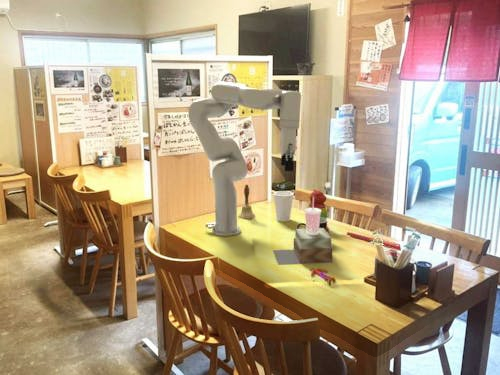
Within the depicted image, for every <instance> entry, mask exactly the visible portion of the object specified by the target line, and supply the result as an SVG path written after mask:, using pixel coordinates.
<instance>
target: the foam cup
mask: <svg viewBox="0 0 500 375" xmlns="http://www.w3.org/2000/svg"><path fill="white" fill-rule="evenodd" d="M273 199H274V207H275V209H274V210H275V216H276V218H275V219H276V221H278V222H284V223H285V222H289V221H290V219H291V214H292V207H293V201H294V192H291V191H288V190H287V191H286V190H278V191H275V192H273Z"/></svg>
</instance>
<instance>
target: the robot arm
mask: <svg viewBox="0 0 500 375" xmlns="http://www.w3.org/2000/svg"><path fill="white" fill-rule="evenodd" d="M210 94H211V96H212V97H208V98H207V97H205V98H198V99H196V100H194V101H192V103H190V105H189V108H188V114H187V115H188V120H189V122H190V125H191V127H192V128H193V129H194V131H195V133H196V135H197V137H198V139H199V142H200V145H201V146H202V148H203V151H204V152H205V155H206V157H207V159H209V161H212V162H218V161H221V162H218V163H217V164H215V165H214V167H213V169H212V170H211V171H212V172H211V177H212V182H213V185H214V211H215V213H214V214H215V220H214V221H213V222H211V223H210V222H205V228H208V229H212V233H213V234H214V235H216V236H218V237H219V236H221V237H231V236H236V235H238V234H240V233H241V232H242V231H241V227H240V226H238V195H237V194H238V193H237V192H238V191H237V190H236V187H235V184H234V182H237V181H241V180H243V179H245V178H246V177H247V175H248V171H249V170H248V165H247V163H246V162H247V161H246V160H245V158H244V156H243V153H242V151H241V150H240V149H241V148H239V145H238V143H237V142H236V140H234V139H233V138H231V137H227V136H225V137H221V136H220V134H219V133H218V131H217V128H216V127H215V125H214V124H213V123H212V122H211V121H209V119H212V118H213V119H214V118H220V117H222V116H224V115H226V114H227V113H228V112H229V110H231V109H232V108H234V106H235V105H236V106H237V105H238V106H242V107H244V108H248V109H254V110H262V111H264V110H265V111H268V110H277V109H279V128H280V129H281V130H280V138H279V148H278V149H279V152H280V154H281V156H280V157H281V158H280V165H281V166H284V171H285V172H293V171H294V165H295V164H294V162H295V161H294V159H295V157H294V155H295V154H296V146H297V145H296V144H297V130H298V129H300V121H301V120H300V119H301V104H302V103H301V100H302V93H301V92H300V91H297V90H284V89H280V88H273V89H272V88H269V89H268V88H267V89H266V88H265V89H260V88H253V87H252V88H251V87H250V86H249V85H248V84H246V83H238V82H236V81H218V82H215V83H214V84H213V86H212V87H211V89H210ZM223 160H224V161H223Z"/></svg>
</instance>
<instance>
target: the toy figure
mask: <svg viewBox="0 0 500 375" xmlns="http://www.w3.org/2000/svg"><path fill="white" fill-rule="evenodd" d="M309 271H310V272H311V274H310V277H311V278H313V277H314V275H317V276H318V277H320V278H322V279H324V280H328V281H327V283H328V285H329V286H331V284H332V283H333V284H332V285H335V283H336V281H337V280H336V278H335V277H334V276H330V275H327V274H328V273H330V272H329V271H328V270H326V269H324V268H317V269H315V268H314V267H310V268H309ZM323 272H325V273H327V274H325V273H323ZM312 282H313V283H314V282H315V280H312Z"/></svg>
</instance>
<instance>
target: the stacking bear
mask: <svg viewBox="0 0 500 375" xmlns="http://www.w3.org/2000/svg"><path fill="white" fill-rule="evenodd" d="M313 197H314V208H318V209H321V213H320V217H322V218H325V219H327V218H328V212H327V211H328V210H327V207H326V204H325V203H326V200H327V199H328V198H327V195H325V194H324V193H323V192H322V191H321V190H317V189H314V190H313V191H312V192H311V193H310V194H309V201H310V203H309V204H308V205H307V208H312V206H313ZM327 220H328V219H327ZM326 232H327V233H329V232H330V229H329V227H328V224H327V225H326Z"/></svg>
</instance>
